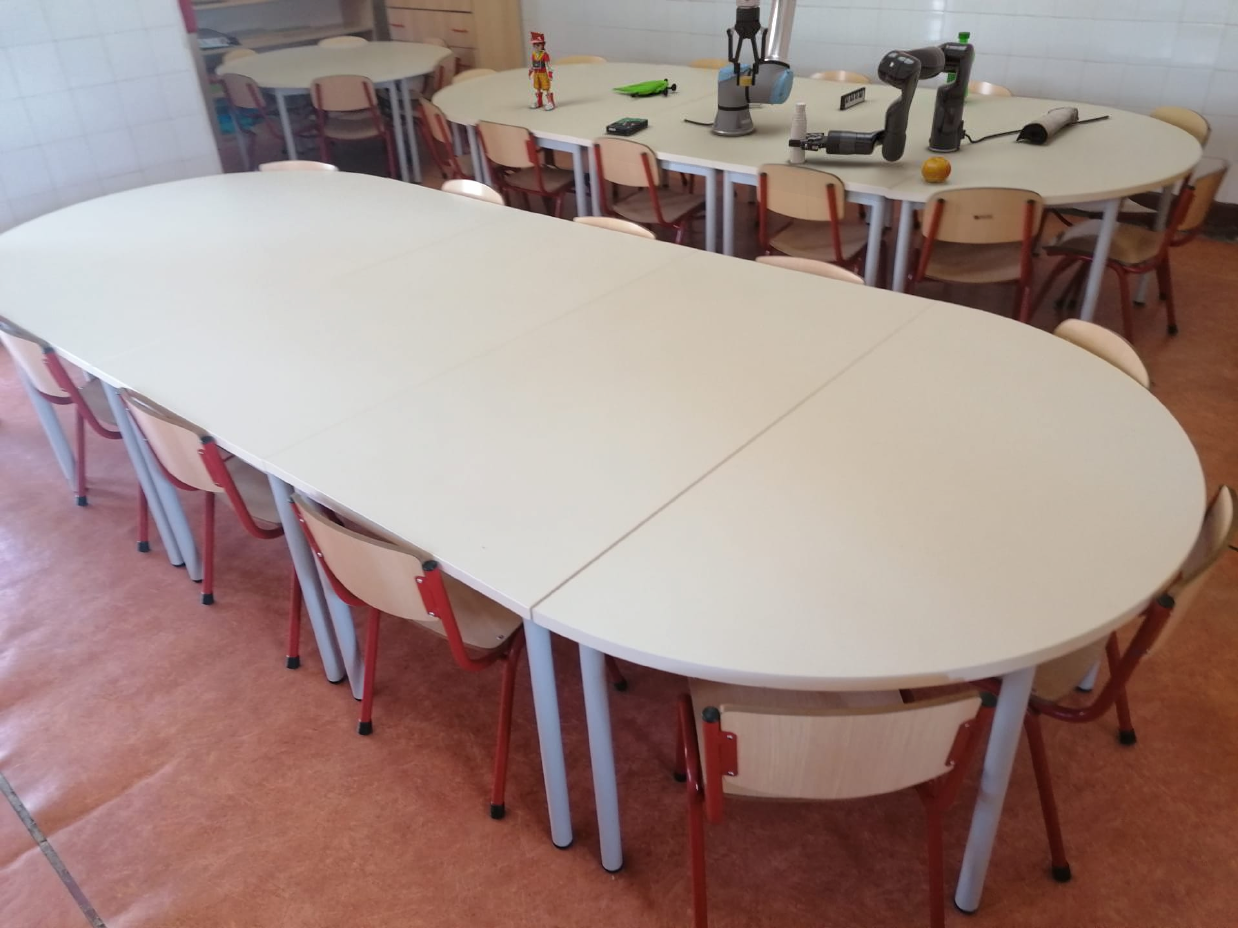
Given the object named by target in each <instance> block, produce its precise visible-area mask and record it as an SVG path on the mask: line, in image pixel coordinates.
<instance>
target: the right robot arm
mask: <svg viewBox="0 0 1238 928" xmlns="http://www.w3.org/2000/svg"><path fill="white" fill-rule="evenodd" d="M974 50H975V46H974V45H973V44H972V43H969V42H967V43H959V41H958V42H957V41H946V42H944V43H941V44H939V45H936V46H924V47H921V48H920V47H919V48H915V49H910V50H909V49H908V50H902V49H892V50H890V51H889V52H887V53H886V54H885V55H884V56H883V57H882V58H881V60H880V61H879V64H878V66H877V76H878V79H879V81H881V82H882V83H884V84H885V85H888V86H891V87H893V88H895V89H898V90H900V92H901V94H900V95H899V96H898V97H897V98H895V99H894V100H893V101H892V102H891V103H889V105H888V106H887V108H886V110H885V115H884V124H883V129H879V130H875V131H869V132H868V131H855V130H854V131H853V130H841V129H840V130H838V129H836V130H835V129H829V130H828V132H827V135H825V132H806V140H792V139H791V138H790V139H789V140H788V147H790V148H791V147H800V148H801V150H805V151H808V152H809V151H810V152H819V150H821V149H825V153H826V154H827V155H834V156H835V155H837V156H852V155H857V156H870V155H872V154H873V153H874V152H875V150H876V148H877V147H879V146H881V156H882V158H883V159H884V160H885V161H887V162H890V163H894V162H897V161H899V160H900V159H902V157H904V154H905V149H906V143H907V129H908V124H909V115H910V110H911V106H912V103H913V99H914V97H915V93H916V90H917V88H918V87H917V86H918V84H919V81H926V80H930V79H931V80H932V79H934V78H936V77H937V76H939V75H940V74H941V73H942V74H948V73H950V74H956V78H955V80H954V81H952V82H950V83H947V82H946V83H943V84H940V85H939V86H937V88H936V95H935V102H934V108H933V116H932V123H931V129H930V136H929V138H928V150H930V151H932V152H935V153H953V152H956V151H960V149H961V143H962V140H965V138H967V139H968V141H969V142H970V143H971V144H977V143H979V142H982V141H984V140H985V139H991V138H994V137H999V136H1005V135H1011V134H1015V133H1020V132H1021V130H1022V128H1021V129H1016V130H1015V129H1014V130H1009V131H1005V132H1000V133H999V132H998V133H994V134H990V135H987V136H983V137H981V138H979V139H977V140H973V139H972V138H971V136H970V134H968V133H966V132H967V130H966V129H964V124H965V120H963V115H964V108H965V103H966V98H967V97H966V91H967V87H968V88H969V83H970V78H971V73H972V68H973V63H974V61H973V59H974V60H975V58H974ZM965 97H966V98H965ZM1109 117H1110V116H1109V115H1104V116H1100V117H1099V116H1098V117H1095V118H1090V119H1084V120H1078V121H1077V122H1075V123H1071V124H1065V125H1064V126H1071V125H1072V126H1073V125H1077V124H1083V123H1084V124H1085V123H1088V122H1090V123H1091V122H1095V121H1099V120H1103V119H1107V118H1108V119H1109ZM1064 126H1063V127H1064ZM805 144H806V146H805Z"/></svg>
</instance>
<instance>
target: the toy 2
mask: <svg viewBox="0 0 1238 928" xmlns="http://www.w3.org/2000/svg"><path fill="white" fill-rule="evenodd" d="M669 85H670V83H669V79H668V78H664V79H663V80H649V81H644V82H640V83H634V84H629V85H627V86H621V87H613V88H612V89H613V90H616V91H619V92H623V93H627V94H628V93H629V94H631V95H630V96H631V98H632V99H634V98H636V96H637V95H650V94H652V93H654V94H658V93H662V95H663V96H665V97H667V96H668V95H669V90H671V91H672V92H676V91H677V84H676V83H672V84H671V86H669Z"/></svg>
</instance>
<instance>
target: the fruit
mask: <svg viewBox="0 0 1238 928" xmlns="http://www.w3.org/2000/svg"><path fill="white" fill-rule="evenodd" d="M951 173H952V165H951V163H950V161H949V160H948V159H947V158H945V157H943V156H933V157H929V158H927V159H926V160H925V161H924V162H923V164H922V166H921V176H922V177H923V179H924V180H925V181H927V182H930V183H941V182H944V181H945V180H946V179H948V178H949V177H950V175H951Z"/></svg>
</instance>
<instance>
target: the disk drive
mask: <svg viewBox="0 0 1238 928" xmlns="http://www.w3.org/2000/svg"><path fill="white" fill-rule="evenodd" d="M648 126H649V120H648V119H647V118H639V117H636V118H635V117H628V116H627V117H624V118H621V119H619V120H617V121H614V122H613V123H610V124H608V125H606V126H605V130H606V131H605V132H606V133H607V134H613V135H619V136H621V135H622V136H630V135H633V134H634V133H637V132H638V131H641V130H643V129H645V128H646V127H648Z"/></svg>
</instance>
